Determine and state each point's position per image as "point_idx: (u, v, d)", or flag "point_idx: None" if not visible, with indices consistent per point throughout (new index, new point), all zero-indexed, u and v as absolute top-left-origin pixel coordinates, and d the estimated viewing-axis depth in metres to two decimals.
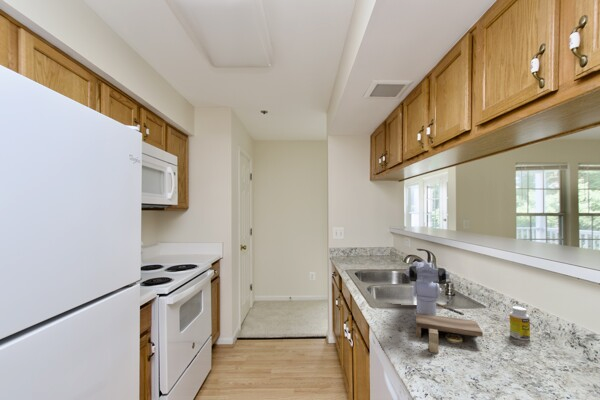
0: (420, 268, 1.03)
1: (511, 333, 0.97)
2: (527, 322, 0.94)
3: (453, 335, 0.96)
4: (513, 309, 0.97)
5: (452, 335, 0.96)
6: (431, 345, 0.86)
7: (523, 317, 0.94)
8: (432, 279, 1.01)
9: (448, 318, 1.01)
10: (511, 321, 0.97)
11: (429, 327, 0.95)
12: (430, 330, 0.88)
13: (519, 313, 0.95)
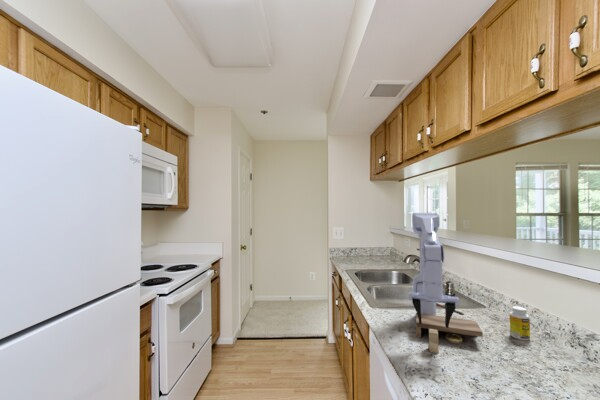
0: None
1: (511, 333, 0.97)
2: (527, 322, 0.94)
3: (453, 335, 0.96)
4: (513, 309, 0.97)
5: (452, 335, 0.96)
6: (431, 345, 0.86)
7: (523, 317, 0.94)
8: None
9: None
10: (511, 321, 0.97)
11: (429, 327, 0.95)
12: (430, 330, 0.88)
13: (519, 313, 0.95)
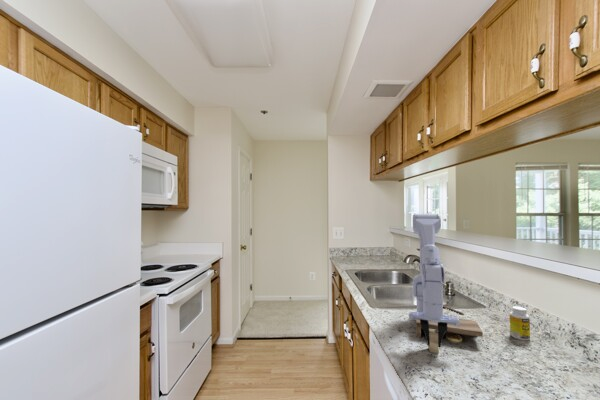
0: None
1: (511, 333, 0.97)
2: (527, 322, 0.94)
3: (452, 334, 0.96)
4: (513, 309, 0.97)
5: (451, 334, 0.96)
6: (431, 345, 0.86)
7: (523, 317, 0.94)
8: None
9: None
10: (511, 321, 0.97)
11: (429, 327, 0.95)
12: (430, 330, 0.88)
13: (519, 313, 0.95)
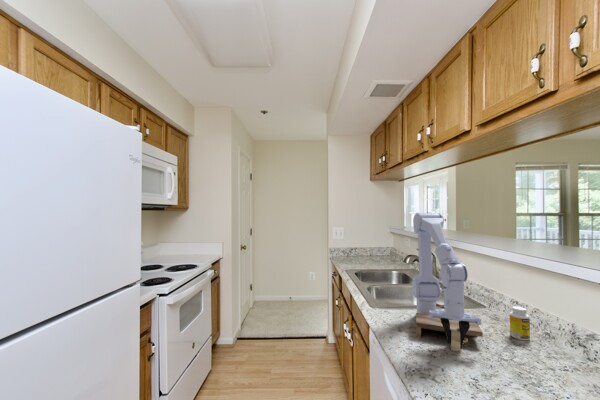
0: None
1: (511, 333, 0.97)
2: (527, 322, 0.94)
3: None
4: (513, 309, 0.97)
5: None
6: (453, 343, 0.87)
7: (523, 317, 0.94)
8: None
9: None
10: (511, 321, 0.97)
11: (429, 327, 0.95)
12: (451, 329, 0.89)
13: (519, 313, 0.95)
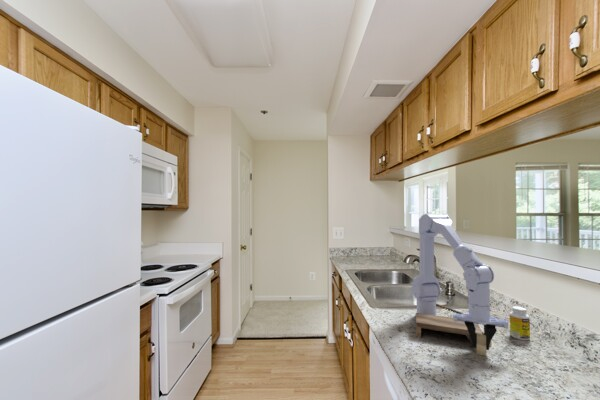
0: None
1: (511, 333, 0.97)
2: (527, 322, 0.94)
3: None
4: (513, 309, 0.97)
5: None
6: (479, 347, 0.85)
7: (523, 317, 0.94)
8: None
9: (448, 318, 1.01)
10: (511, 321, 0.97)
11: (429, 327, 0.95)
12: (476, 332, 0.86)
13: (519, 313, 0.95)
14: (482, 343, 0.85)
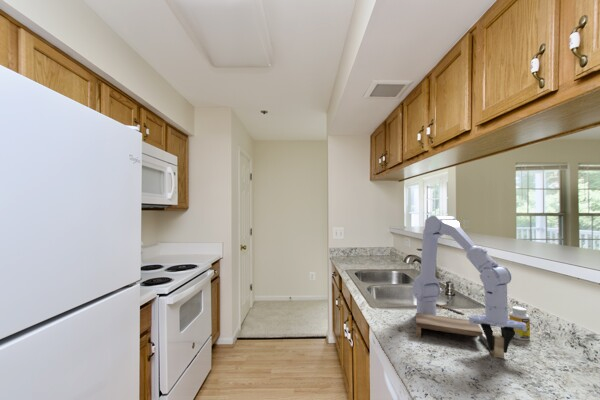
0: None
1: None
2: (527, 322, 0.94)
3: None
4: (513, 309, 0.97)
5: None
6: (496, 350, 0.83)
7: (523, 317, 0.94)
8: None
9: (448, 318, 1.01)
10: None
11: (429, 327, 0.95)
12: (493, 334, 0.85)
13: (519, 313, 0.95)
14: (500, 345, 0.83)
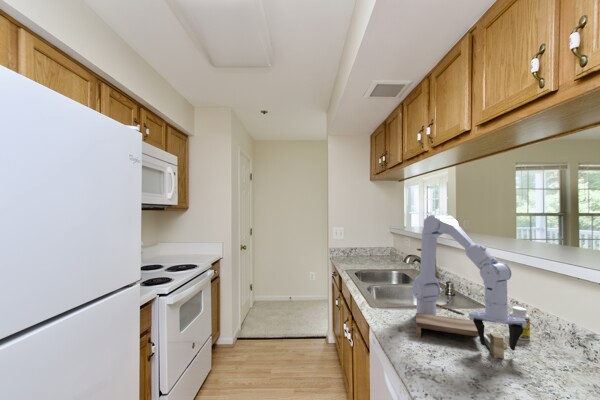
0: None
1: None
2: (527, 322, 0.94)
3: None
4: (513, 309, 0.97)
5: None
6: (496, 350, 0.83)
7: (523, 317, 0.94)
8: None
9: (448, 318, 1.01)
10: None
11: (429, 327, 0.95)
12: (493, 334, 0.85)
13: (519, 313, 0.95)
14: (499, 345, 0.83)
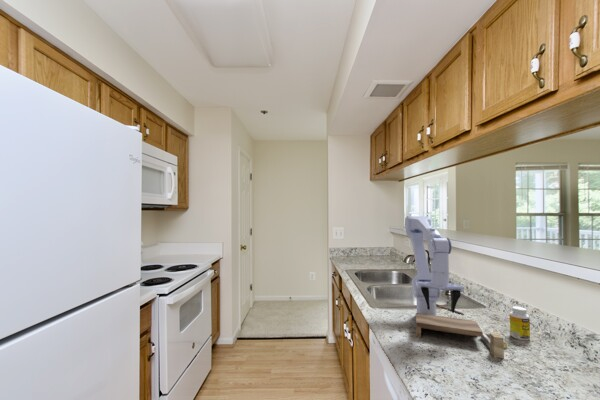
0: None
1: (511, 333, 0.97)
2: (527, 322, 0.94)
3: None
4: (513, 309, 0.97)
5: None
6: (496, 350, 0.83)
7: (523, 317, 0.94)
8: None
9: (448, 318, 1.01)
10: (511, 321, 0.97)
11: (429, 327, 0.95)
12: (493, 334, 0.85)
13: (519, 313, 0.95)
14: (499, 345, 0.83)
